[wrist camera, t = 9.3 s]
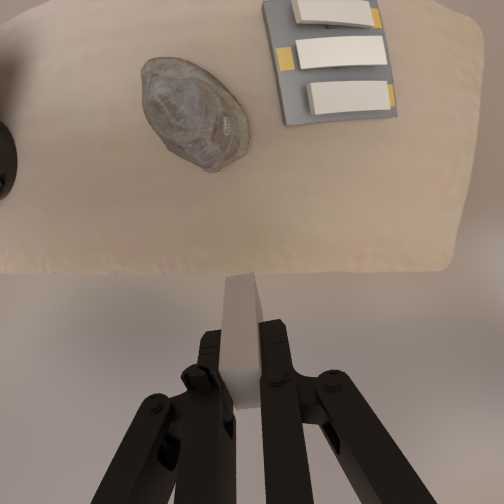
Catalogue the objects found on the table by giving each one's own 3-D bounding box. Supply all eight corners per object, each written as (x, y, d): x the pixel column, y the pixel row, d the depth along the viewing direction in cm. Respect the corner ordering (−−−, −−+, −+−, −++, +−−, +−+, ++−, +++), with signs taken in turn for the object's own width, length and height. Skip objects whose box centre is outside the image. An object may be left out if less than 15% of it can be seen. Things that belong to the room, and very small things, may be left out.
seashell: (250, 175, 36) (214, 67, 23) (164, 182, 39) (107, 96, 26) (257, 125, 40) (230, 31, 27) (180, 135, 43) (139, 54, 30)
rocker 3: (309, 114, 31) (315, 114, 30) (305, 84, 30) (310, 82, 28) (383, 109, 32) (390, 109, 31) (379, 81, 31) (386, 80, 29)
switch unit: (283, 124, 37) (288, 126, 33) (261, 7, 30) (263, -5, 25) (388, 116, 36) (403, 118, 32) (368, 5, 29) (381, -4, 25)
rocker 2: (301, 70, 31) (300, 69, 29) (296, 43, 29) (295, 40, 28) (384, 65, 28) (387, 64, 27) (379, 38, 27) (381, 35, 25)
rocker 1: (295, 24, 26) (301, 20, 25) (289, -3, 24) (295, -8, 23) (366, 28, 28) (374, 26, 26) (360, 4, 26) (368, 1, 25)
